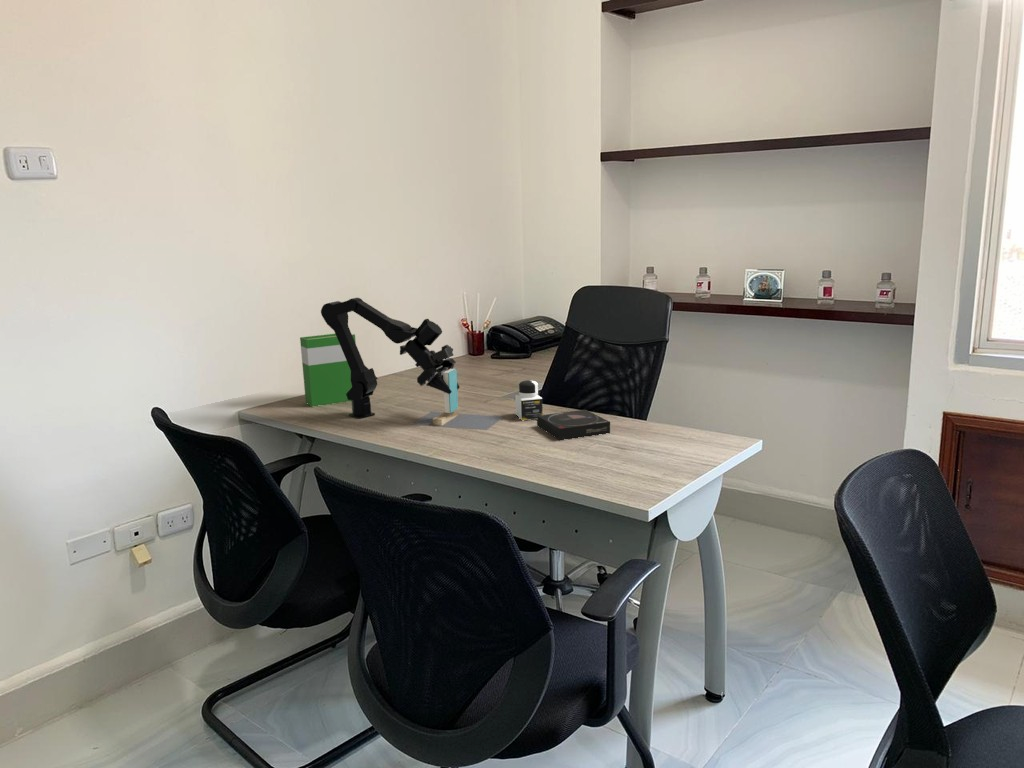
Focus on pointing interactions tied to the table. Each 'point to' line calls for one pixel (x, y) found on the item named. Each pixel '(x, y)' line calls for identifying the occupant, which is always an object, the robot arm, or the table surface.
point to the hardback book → (324, 370)
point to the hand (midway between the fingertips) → (454, 390)
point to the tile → (451, 398)
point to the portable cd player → (573, 424)
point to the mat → (461, 421)
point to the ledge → (445, 417)
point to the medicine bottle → (528, 401)
